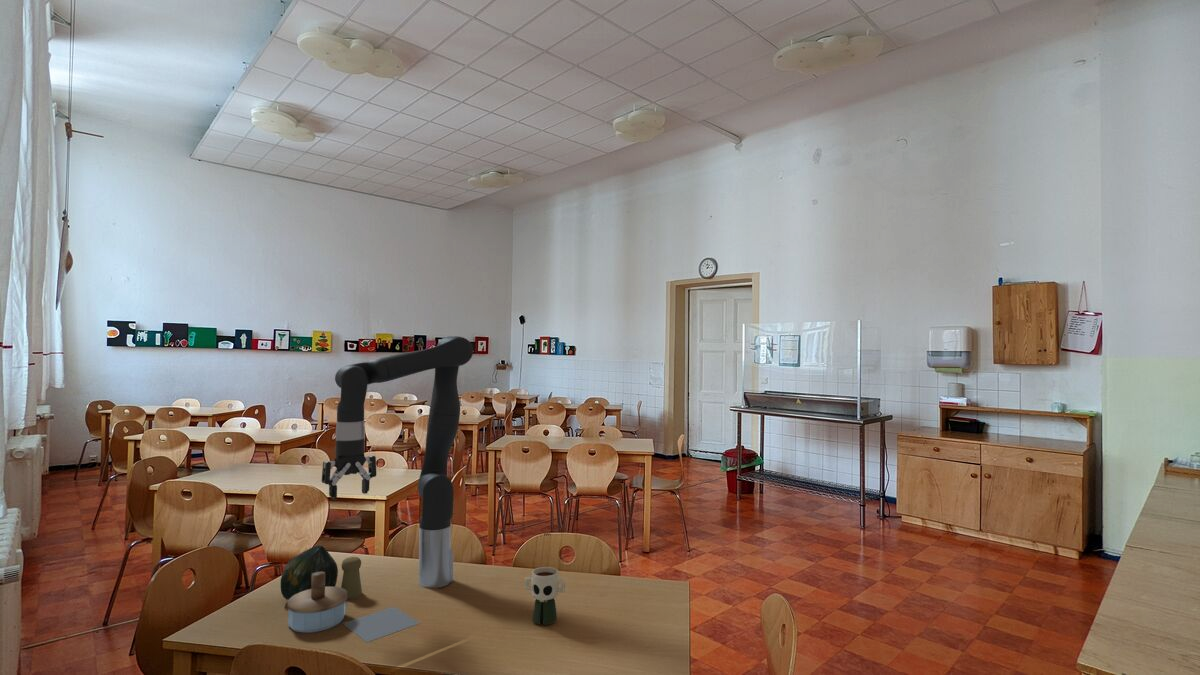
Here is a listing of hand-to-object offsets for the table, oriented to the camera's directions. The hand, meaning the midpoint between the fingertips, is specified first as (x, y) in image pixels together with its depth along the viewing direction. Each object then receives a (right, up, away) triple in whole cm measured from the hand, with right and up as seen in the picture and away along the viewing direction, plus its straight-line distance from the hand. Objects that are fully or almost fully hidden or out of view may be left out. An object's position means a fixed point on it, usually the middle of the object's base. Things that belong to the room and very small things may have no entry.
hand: (349, 495), depth 164 cm
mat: (+13, -30, -12) cm, 35 cm away
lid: (-3, -24, -11) cm, 27 cm away
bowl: (-4, -30, -11) cm, 32 cm away
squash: (-14, -30, +5) cm, 34 cm away
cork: (-2, -30, +5) cm, 31 cm away
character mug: (+55, -30, -10) cm, 64 cm away
